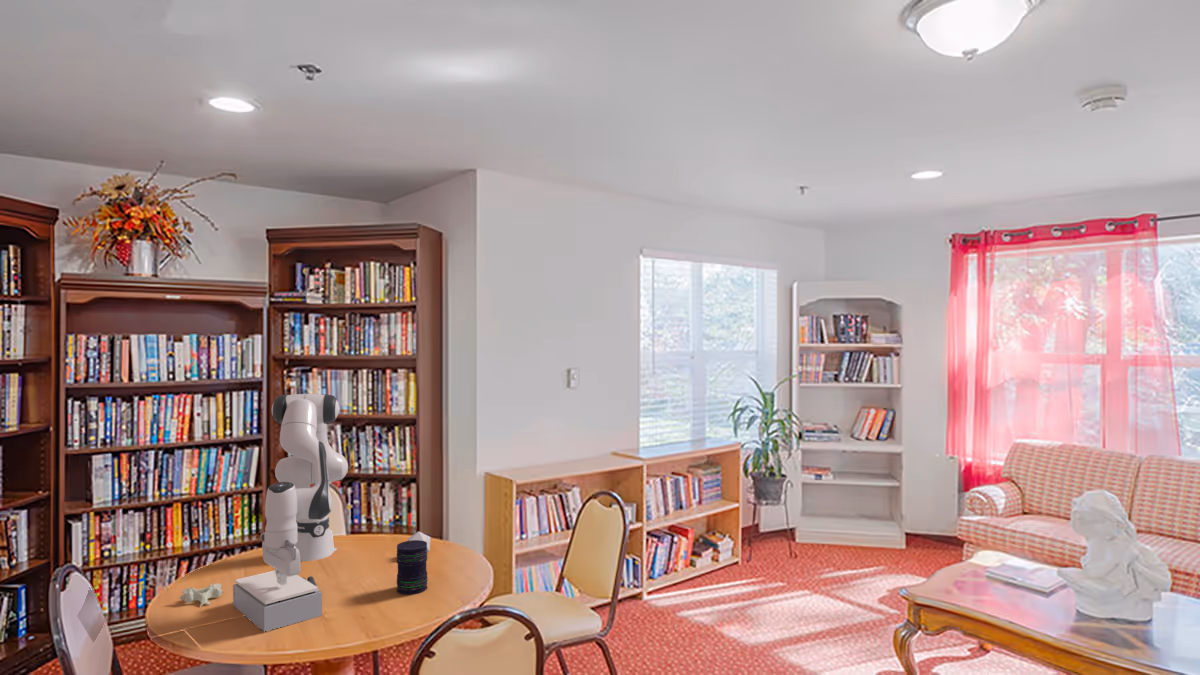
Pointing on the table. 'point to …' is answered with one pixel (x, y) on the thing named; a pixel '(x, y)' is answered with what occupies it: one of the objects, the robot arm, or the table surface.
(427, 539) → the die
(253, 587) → the lid
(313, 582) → the can opener
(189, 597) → the spine bone
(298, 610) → the duct
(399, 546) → the dark blue barrel
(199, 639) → the table surface
